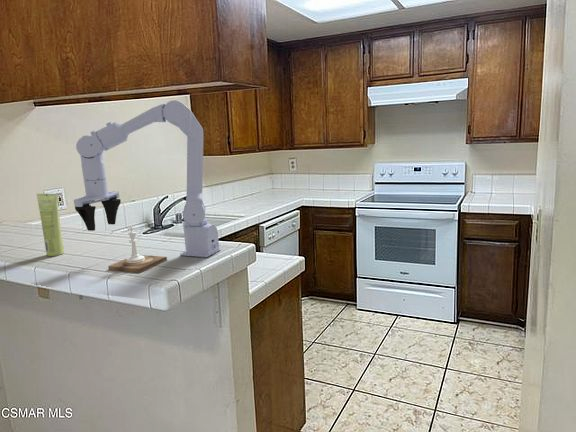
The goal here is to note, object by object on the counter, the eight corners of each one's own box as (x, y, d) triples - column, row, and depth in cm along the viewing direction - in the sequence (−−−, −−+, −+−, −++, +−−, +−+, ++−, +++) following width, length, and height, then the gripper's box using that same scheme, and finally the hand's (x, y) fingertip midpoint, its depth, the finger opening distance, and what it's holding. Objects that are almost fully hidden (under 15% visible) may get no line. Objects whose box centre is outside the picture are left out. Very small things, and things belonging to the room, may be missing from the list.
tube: (66, 250, 142) (56, 191, 138) (66, 254, 138) (56, 193, 134) (46, 253, 140) (36, 193, 136) (46, 257, 135) (35, 195, 132)
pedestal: (167, 260, 125) (166, 256, 125) (140, 272, 115) (140, 268, 115) (136, 257, 130) (136, 253, 129) (108, 269, 120) (108, 265, 119)
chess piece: (140, 263, 120) (135, 227, 118) (123, 263, 120) (118, 228, 118) (147, 257, 125) (143, 223, 123) (131, 258, 125) (127, 224, 123)
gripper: (103, 176, 130) (110, 221, 133) (62, 183, 117) (70, 232, 120) (122, 176, 127) (128, 221, 130) (82, 183, 114) (89, 233, 117)
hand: (101, 227), depth 125 cm, fingers open, 7 cm apart
